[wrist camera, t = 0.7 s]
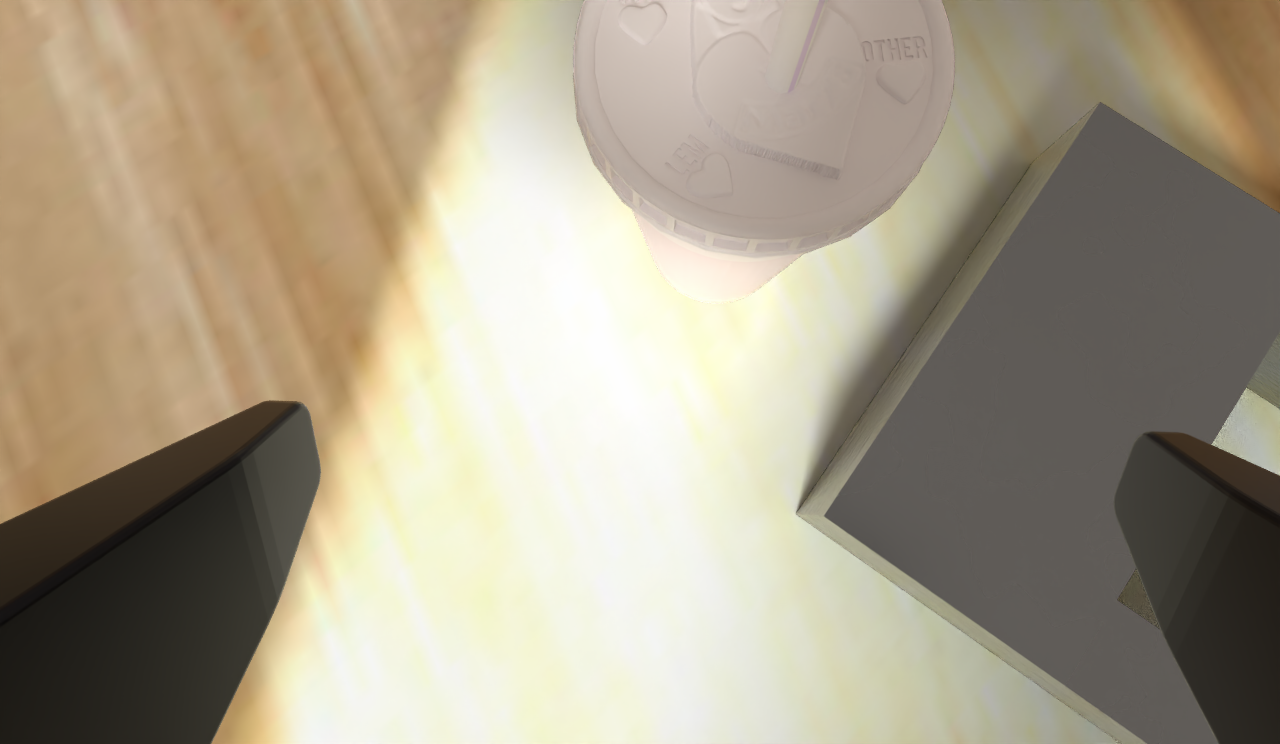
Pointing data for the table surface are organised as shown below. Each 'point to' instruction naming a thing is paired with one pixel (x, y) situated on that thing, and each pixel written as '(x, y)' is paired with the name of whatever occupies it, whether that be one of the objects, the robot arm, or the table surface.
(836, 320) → the table surface
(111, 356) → the table surface
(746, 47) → the smoothie
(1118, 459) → the block
